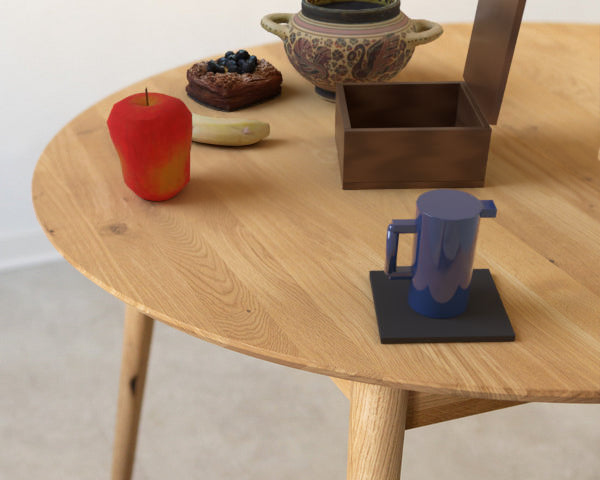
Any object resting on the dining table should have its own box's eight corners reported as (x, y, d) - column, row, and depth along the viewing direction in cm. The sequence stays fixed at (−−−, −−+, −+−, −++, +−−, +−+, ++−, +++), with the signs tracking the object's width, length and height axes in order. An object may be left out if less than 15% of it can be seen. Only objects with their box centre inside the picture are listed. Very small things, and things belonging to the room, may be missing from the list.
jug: (473, 283, 70) (488, 188, 64) (486, 318, 65) (503, 219, 60) (379, 285, 70) (385, 189, 64) (385, 320, 65) (392, 221, 60)
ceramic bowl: (439, 101, 114) (451, -9, 109) (429, 117, 98) (442, -12, 92) (277, 88, 119) (281, -18, 114) (242, 101, 103) (245, -22, 97)
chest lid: (528, -43, 72) (536, -42, 72) (493, -73, 84) (500, -73, 84) (489, 125, 82) (496, 125, 82) (462, 76, 94) (468, 77, 94)
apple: (211, 181, 88) (203, 78, 81) (174, 215, 81) (162, 106, 74) (145, 168, 90) (131, 68, 83) (104, 201, 84) (86, 94, 77)
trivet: (488, 273, 72) (488, 268, 72) (514, 341, 64) (516, 335, 64) (369, 275, 72) (369, 270, 72) (380, 343, 64) (381, 337, 63)
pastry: (176, 95, 109) (172, 53, 106) (241, 74, 116) (239, 34, 113) (227, 116, 103) (224, 72, 99) (292, 93, 110) (292, 51, 106)
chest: (342, 189, 86) (344, 131, 82) (334, 135, 98) (335, 82, 94) (483, 187, 86) (492, 129, 82) (458, 133, 98) (465, 80, 94)
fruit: (236, 161, 92) (235, 135, 90) (144, 131, 99) (141, 106, 97) (273, 141, 97) (272, 115, 95) (182, 114, 104) (180, 89, 102)
